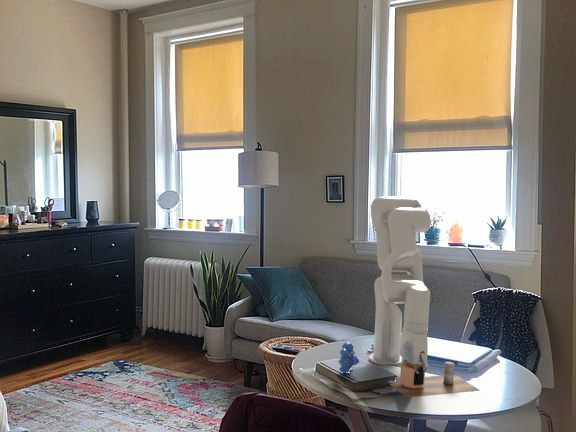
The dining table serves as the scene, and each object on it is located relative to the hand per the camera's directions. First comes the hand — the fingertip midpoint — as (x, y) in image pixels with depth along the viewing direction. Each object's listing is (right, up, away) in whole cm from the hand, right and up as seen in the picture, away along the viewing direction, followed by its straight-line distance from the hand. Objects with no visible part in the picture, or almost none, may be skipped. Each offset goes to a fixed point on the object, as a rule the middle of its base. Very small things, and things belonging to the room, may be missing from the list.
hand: (412, 379), depth 186 cm
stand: (+7, -4, +2) cm, 8 cm away
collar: (0, -1, 0) cm, 1 cm away
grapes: (-19, -2, +11) cm, 22 cm away
